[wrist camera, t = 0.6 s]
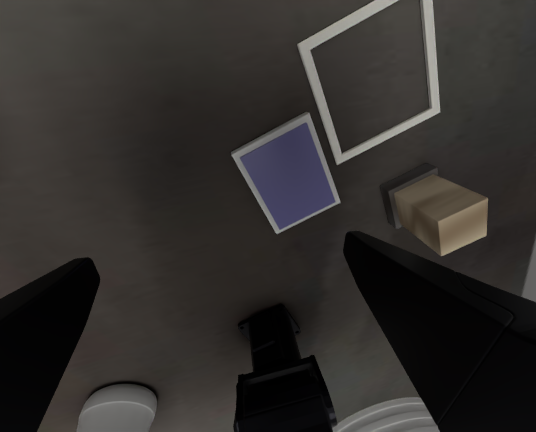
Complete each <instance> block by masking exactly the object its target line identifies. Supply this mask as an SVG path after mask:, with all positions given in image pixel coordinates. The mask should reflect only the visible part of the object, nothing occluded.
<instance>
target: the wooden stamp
mask: <svg viewBox="0 0 536 432" xmlns="http://www.w3.org/2000/svg"><path fill="white" fill-rule="evenodd" d="M380 189H381V193H382V197H383V202H384V206H385V210H386V214H387V219H388V222H389V223H390V224H391V225H392V226H393V227H394V228H396V229H398V228H400V227H402V226H404V227H405V228H406V229H408V230H409V231H410V232H411V233H413V234H414V235H415V236H416V237H418V238H419V239H420V240H421V241H423V242H424V243H425V244H426V245H428V246H429V247H430V248H432V249H433V250H434V251H435V252H437V253H438V254H439V255H440V256H443V255H445V254H447V253H450V252H452V251H454V250H456V249H458V248H460V247H463V246H465V245H467V244H469V243H471V242H474V241H476V240H478V239H480V238H482V237H484V236H486V232H487V209H488V198H487V197H484V196H482V195H480V194H477V193H475V192H473V191H470V190H468V189H466V188H463V187H461V186H459V185H457V184H454V183H452V182H450V181H447V180H445V179H443V178H440V177H438V167H435V166H433V165H430V164H428V163H425V164H423V165H421V166H419V167H417V168H415V169H413V170H411V171H409V172H407V173H405V174H403V175H401V176H399V177H397V178H395V179H393V180H391V181H389V182H387V183H385V184H383V185H381V186H380Z"/></svg>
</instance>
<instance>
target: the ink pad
mask: <svg viewBox="0 0 536 432" xmlns="http://www.w3.org/2000/svg"><path fill="white" fill-rule="evenodd" d="M231 155H232V157H233V159H234V161H235V162H236V164H237V166H238V168H239V169H240V171H241V173H242V175H243V176H244V178H245V180H246V182H247V183H248V185H249V187H250V189H251V190H252V192H253V194H254V196H255V197H256V199H257V201H258V203H259V204H260V206H261V208H262V210H263V211H264V213H265V215H266V217H267V218H268V220H269V222H270V224H271V225H272V227H273V229H274V231H275V232H276V234H278V233H280V232H282V231H284V230H286V229H288V228H290V227H292V226H294V225H296V224H298V223H300V222H302V221H304V220H306V219H308V218H310V217H312V216H314V215H316V214H318V213H320V212H322V211H324V210H326V209H328V208H330V207H332V206H334V205H336V204H338V203H340V199H339V196H338V193H337V191H336V188H335V185H334V182H333V179H332V176H331V174H330V171H329V168H328V165H327V162H326V159H325V156H324V154H323V151H322V148H321V145H320V142H319V139H318V137H317V134H316V131H315V128H314V125H313V122H312V119H311V117H310V114H309V113H308V112H305V113H303V114H301V115H299V116H297V117H295V118H293V119H292V120H290V121H288V122H286V123H284V124H282V125H280V126H279V127H277V128H275V129H273V130H271V131H269V132H267V133H266V134H264V135H262V136H260V137H258V138H256V139H254V140H253V141H251V142H249V143H247V144H245V145H243V146H241V147H240V148H238V149H236V150H234V151H232V152H231Z"/></svg>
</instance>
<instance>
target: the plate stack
mask: <svg viewBox="0 0 536 432" xmlns="http://www.w3.org/2000/svg"><path fill="white" fill-rule="evenodd" d="M332 430H333V432H440V431H439V429H438V426H437V425H436V424H435V422H434V420H433V418H432V417H431V415H430V413H429V411H428V410H427V408H426V406H425V404H424V403H423V401H422V399H421V398H418V397H408V398H400V399H394V400H390V401H386V402H382V403H379V404H376V405H373V406H370V407H368V408H365V409H363V410H361V411H359V412H357V413H355V414H353V415H351V416H349V417H347V418H346V419H344V420H343V421H341V422H340V423H338V424H337V426H335V427H333V428H332Z"/></svg>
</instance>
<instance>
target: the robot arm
mask: <svg viewBox="0 0 536 432" xmlns="http://www.w3.org/2000/svg"><path fill="white" fill-rule="evenodd" d="M343 253H344V256H345V259H346V261H347V263H348V266H349V268H350V270H351V272H352V275H353V277H354V279H355V282H356V284H357V286H358V288H359V290H360V292H361V294H362V296H363V297H364V299H365V301H366V303H367V304H368V306H369V308H370V310H371V311H372V313H373V315H374V317H375V318H376V320H377V322H378V324H379V325H380V327H381V329H382V331H383V332H384V334H385V336H386V338H387V339H388V341H389V343H390V345H391V346H392V348H393V350H394V352H395V353H396V355H397V357H398V359H399V361H400V362H401V364H402V366H403V368H404V369H405V371H406V373H407V375H408V376H409V378H410V380H411V382H412V383H413V385H414V387H415V389H416V390H417V392H418V394H419V396H420V397H421V399H422V401H423V403H424V404H425V406H426V408H427V410H428V411H429V413H430V415H431V417H432V418H433V420H434V422H435V424H436V425H437V426H438V429H439V431H440V432H536V302H534V301H531V300H528V299H525V298H523V297H520V296H517V295H515V294H512V293H509V292H507V291H504V290H501V289H499V288H496V287H493V286H491V285H488V284H486V283H483V282H481V281H478V280H476V279H473V278H471V277H468V276H466V275H464V274H461V273H459V272H455V271H454V270H451V269H449V268H447V267H444V266H442V265H439V264H437V263H435V262H432V261H430V260H427V259H425V258H423V257H420V256H418V255H415V254H413V253H411V252H408V251H406V250H403V249H401V248H399V247H396V246H394V245H391V244H389V243H387V242H384V241H382V240H379V239H377V238H375V237H372V236H370V235H367V234H365V233H363V232H360V231H348V232H347V233H346V236H345V242H344V248H343ZM99 284H100V276H99V274H98V271H97V269H96V267H95V265H94V262H93V261H92V259H91V258H88V257H87V258H77V259H74V260H72V261H70V262H68V263H66V264H64V265H62V266H61V267H59V268H57V269H55V270H53V271H51V272H49V273H47V274H46V275H44V276H42V277H40V278H38V279H36V280H34V281H33V282H31V283H29V284H27V285H25V286H23V287H21V288H20V289H18V290H16V291H14V292H12V293H10V294H8V295H7V296H5V297H3V298H1V299H0V432H37V430H38V428H39V426H40V424H41V422H42V419H43V417H44V415H45V413H46V411H47V409H48V406H49V404H50V402H51V400H52V398H53V395H54V393H55V391H56V389H57V387H58V385H59V382H60V380H61V378H62V376H63V374H64V372H65V369H66V367H67V365H68V363H69V361H70V358H71V356H72V354H73V352H74V350H75V348H76V345H77V343H78V341H79V339H80V337H81V335H82V332H83V330H84V328H85V325H86V322H87V320H88V317H89V314H90V311H91V308H92V305H93V302H94V299H95V296H96V293H97V290H98V287H99ZM238 329H239V330H240V331H241V332H242V333H243V335H244V336H245V337H246V338H247V339H248V340H249V341H250V347H251V356H252V366H253V372H252V373H248V374H241V375H238V383H237V385H236V391H237V398H236V412H235V419H234V426H233V427H234V432H333V430H332V427H335V426H337V420H336V416H335V412H334V408H333V405H332V401H331V398H330V395H329V392H328V389H327V386H326V384H325V381H324V379H323V376H322V374H321V371H320V369H319V366H318V364H317V361H316V359H315V356H314V355H311V356H309V357H307V358H303V359H301V356H300V352H299V349H298V345H297V342H296V338H295V335H297V334H299V333H300V332H301V331H300V328H299V327H298V325H297V324H296V322H295V321H294V319H293V318H292V316H291V315H290V314H289V312H288V311H287V309H286V308H285V306H284V305H282V304H280V305H277V306H275V307H273V308H271V309H269V310H267V311H265V312H262V313H260V314H258V315H256V316H254V317H252V318H250V319H248V320H245V321H243V322H241V323H239V324H238Z"/></svg>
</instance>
